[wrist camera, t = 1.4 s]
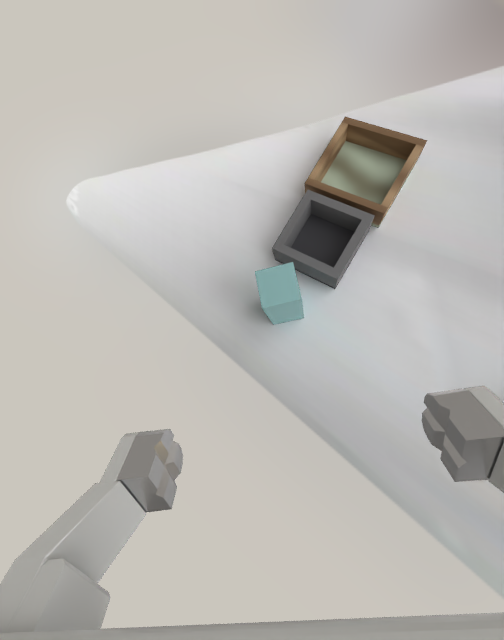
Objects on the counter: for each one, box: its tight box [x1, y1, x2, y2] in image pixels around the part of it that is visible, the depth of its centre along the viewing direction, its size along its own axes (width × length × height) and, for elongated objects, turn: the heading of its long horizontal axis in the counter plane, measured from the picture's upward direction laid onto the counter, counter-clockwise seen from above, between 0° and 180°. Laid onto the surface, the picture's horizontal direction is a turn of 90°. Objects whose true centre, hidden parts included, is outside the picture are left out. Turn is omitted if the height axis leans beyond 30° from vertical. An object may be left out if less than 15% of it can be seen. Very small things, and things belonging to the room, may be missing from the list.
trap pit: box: [272, 190, 375, 289], centre depth 39 cm, size 10×10×4 cm
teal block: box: [255, 262, 304, 325], centre depth 36 cm, size 4×4×10 cm
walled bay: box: [305, 117, 427, 228], centre depth 40 cm, size 12×12×4 cm
